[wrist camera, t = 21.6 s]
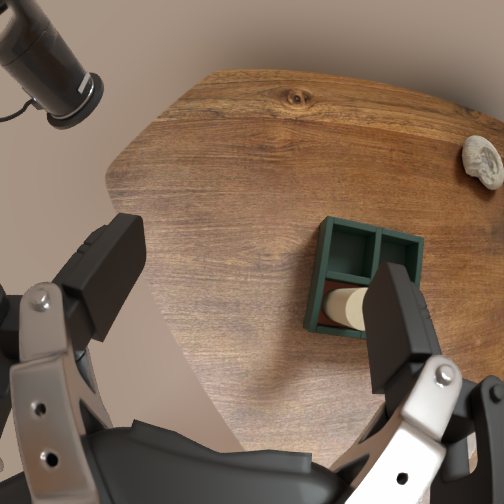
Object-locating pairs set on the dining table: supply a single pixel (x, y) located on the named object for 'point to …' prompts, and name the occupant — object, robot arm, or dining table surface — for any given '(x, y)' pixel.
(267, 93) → the dining table surface
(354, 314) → the cylinder
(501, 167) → the fossil
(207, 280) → the dining table surface
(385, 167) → the dining table surface
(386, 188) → the dining table surface
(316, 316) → the grid
